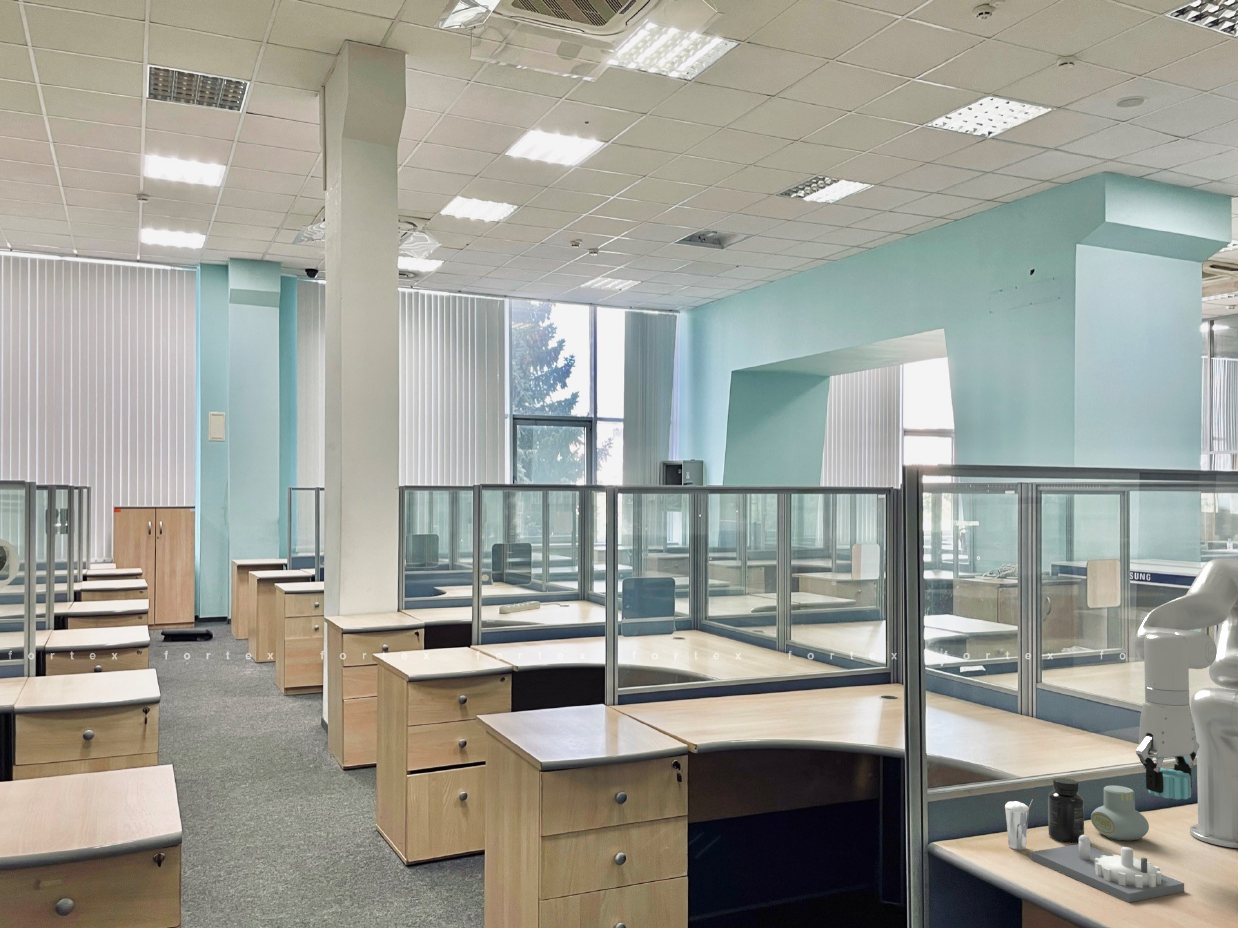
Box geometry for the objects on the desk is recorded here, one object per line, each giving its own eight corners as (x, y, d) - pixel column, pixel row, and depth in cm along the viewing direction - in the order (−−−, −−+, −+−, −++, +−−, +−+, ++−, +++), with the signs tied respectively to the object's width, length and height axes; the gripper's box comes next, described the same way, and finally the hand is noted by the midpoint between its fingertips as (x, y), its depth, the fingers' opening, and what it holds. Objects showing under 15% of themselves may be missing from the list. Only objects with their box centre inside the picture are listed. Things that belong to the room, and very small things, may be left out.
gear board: (1083, 850, 191) (1083, 818, 192) (1184, 891, 171) (1183, 854, 171) (1031, 859, 186) (1030, 825, 186) (1128, 902, 166) (1128, 864, 166)
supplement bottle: (1078, 834, 201) (1078, 777, 202) (1088, 844, 195) (1087, 786, 195) (1044, 831, 203) (1044, 775, 203) (1053, 842, 196) (1052, 783, 197)
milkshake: (1035, 852, 190) (1035, 802, 190) (1007, 850, 191) (1007, 800, 191) (1030, 844, 194) (1030, 795, 195) (1003, 842, 195) (1002, 793, 196)
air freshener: (1084, 829, 205) (1084, 782, 205) (1117, 826, 207) (1116, 780, 207) (1122, 846, 194) (1121, 797, 195) (1156, 843, 196) (1155, 795, 197)
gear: (1165, 786, 188) (1164, 766, 188) (1199, 796, 181) (1198, 775, 181) (1139, 790, 185) (1139, 769, 185) (1173, 800, 178) (1172, 779, 179)
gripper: (1180, 690, 191) (1182, 779, 190) (1118, 696, 184) (1119, 788, 183) (1215, 697, 184) (1218, 789, 183) (1152, 703, 177) (1154, 799, 176)
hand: (1168, 788), depth 183 cm, fingers closed on gear, 7 cm apart
